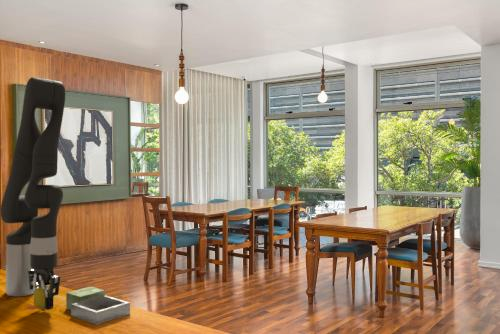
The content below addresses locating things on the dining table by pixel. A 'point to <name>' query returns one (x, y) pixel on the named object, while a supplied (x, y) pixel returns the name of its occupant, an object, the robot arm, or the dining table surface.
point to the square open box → (95, 305)
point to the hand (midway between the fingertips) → (43, 306)
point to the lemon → (40, 298)
